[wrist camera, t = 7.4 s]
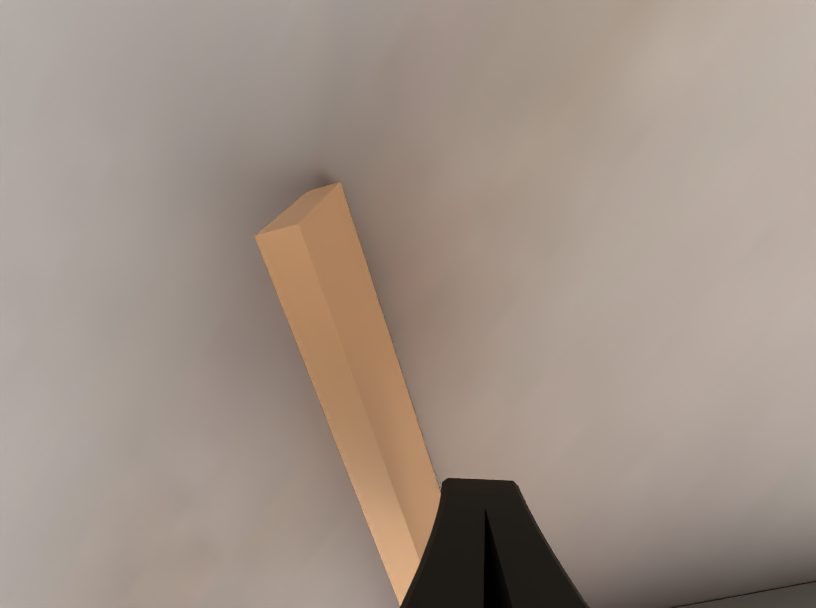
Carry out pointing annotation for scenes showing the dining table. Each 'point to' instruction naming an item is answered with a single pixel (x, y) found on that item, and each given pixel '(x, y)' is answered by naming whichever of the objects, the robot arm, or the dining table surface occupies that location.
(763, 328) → the dining table surface
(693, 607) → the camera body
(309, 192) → the long wooden block
